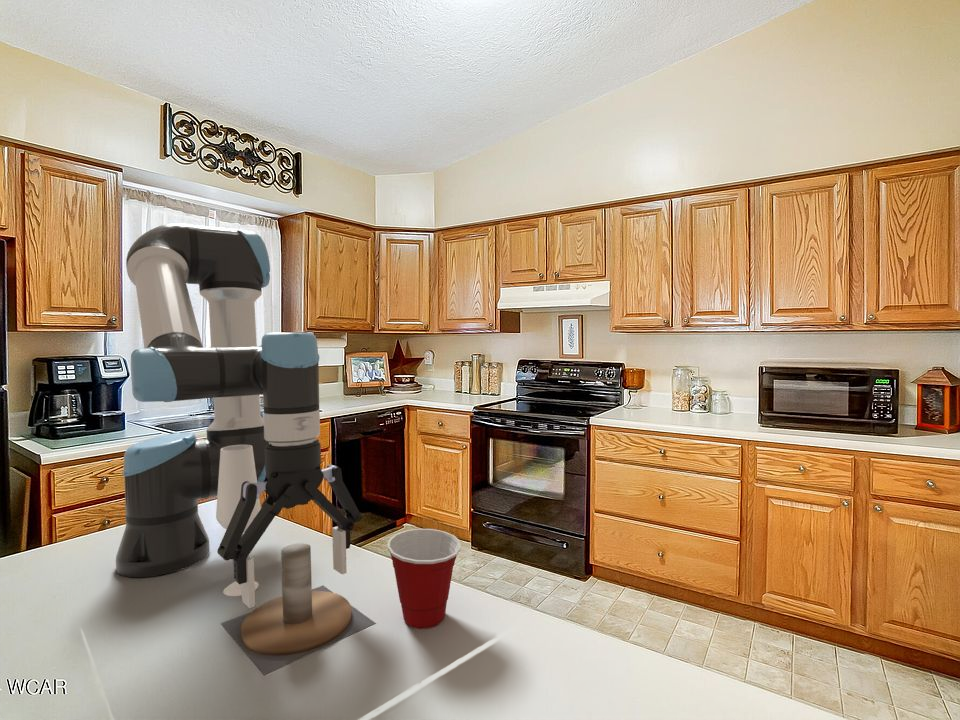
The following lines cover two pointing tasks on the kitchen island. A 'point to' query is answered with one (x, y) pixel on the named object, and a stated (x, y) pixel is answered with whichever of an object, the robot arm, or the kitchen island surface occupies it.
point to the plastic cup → (423, 573)
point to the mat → (275, 662)
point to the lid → (296, 611)
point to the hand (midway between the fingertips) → (297, 586)
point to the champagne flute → (234, 491)
